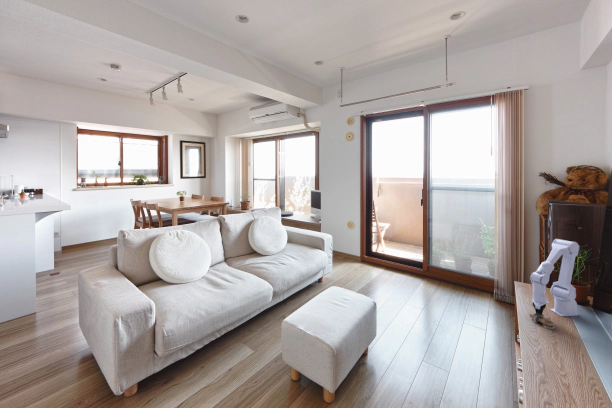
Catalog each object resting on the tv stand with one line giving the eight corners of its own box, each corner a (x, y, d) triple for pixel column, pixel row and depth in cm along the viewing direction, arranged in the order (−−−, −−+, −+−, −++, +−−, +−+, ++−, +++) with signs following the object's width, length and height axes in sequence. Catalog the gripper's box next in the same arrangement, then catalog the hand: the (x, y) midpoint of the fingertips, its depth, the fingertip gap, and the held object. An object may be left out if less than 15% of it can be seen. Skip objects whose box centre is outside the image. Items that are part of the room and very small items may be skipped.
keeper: (543, 322, 150) (543, 315, 149) (536, 323, 150) (536, 315, 149) (539, 320, 152) (539, 312, 152) (532, 321, 152) (532, 313, 152)
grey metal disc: (549, 324, 148) (549, 323, 148) (557, 329, 143) (557, 327, 143) (540, 324, 148) (540, 323, 148) (548, 329, 144) (548, 328, 143)
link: (555, 326, 144) (555, 319, 144) (549, 327, 144) (549, 321, 143) (534, 315, 155) (534, 309, 155) (529, 316, 155) (529, 310, 154)
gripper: (547, 300, 144) (547, 323, 146) (549, 290, 154) (549, 312, 156) (530, 296, 150) (530, 319, 151) (533, 287, 159) (533, 308, 161)
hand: (539, 315), depth 154 cm, fingers closed
